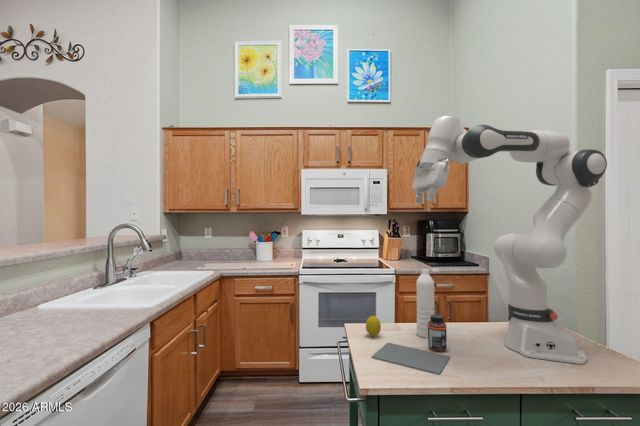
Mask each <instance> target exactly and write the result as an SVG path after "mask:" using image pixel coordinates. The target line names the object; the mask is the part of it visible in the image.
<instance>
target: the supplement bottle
mask: <svg viewBox="0 0 640 426" xmlns="http://www.w3.org/2000/svg"><path fill="white" fill-rule="evenodd" d="M447 338H448V337H447V323H446V322H445V321H444V316H443V315H441V314H437V313H434V314H432V315H431V320H430V321H429V322H428V338H427V343H428V344H427V346H428V347H427V348H428V349H429V350H430V351H431V352H434V353H444V352H445V351H447V349H448V348H447V344H448V342H447Z"/></svg>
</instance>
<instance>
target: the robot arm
mask: <svg viewBox="0 0 640 426" xmlns="http://www.w3.org/2000/svg"><path fill="white" fill-rule="evenodd" d="M426 143H427V144H426V146H425V148H424V149H423V153H422V155H421V157H420V160H418V162H417V163H416V165H415V170H416V171H415V173H414V176H413V180H412V181H413V182H412V185H411V187H412V188H411V189H412V191H414V192H415V199H414V202H415V203H416V204H421V203H422V200H423V198H422V197H423V194H424V193H425V192H428V193H427V194H426V196H425V201H426V202H433V200H434V197H435V196H436V195H437V192H438V191H439V189H441V188H444V187H445V186H447V184H448V183H447V182H448V178H449V174H450V168H451V166H450V165H449V163H450V161H452V162H454V163H456V164H465V163H466V164H467V163H469V162H474V161H475V160H480V159H483V158H488V157H491V156H492V155H495V154H497V153H499V152H507V153H508V152H509V155H510V157H511V158H512V159H513V160H514V161H516V162H521V163H535V164H536V165H535V166H536V167H535V174H536V177H537V180H538V181H539V183H541V184H542V185H546V186H551V187H552V186H556V189H555V191H554V193H552V194H551V196H550V197H549V198H548V199H547V200H546V201H545V202H544V203H543V205H541V207H540V208H539V209H538V210H537V211H536V213H534V215H533V217H532V222H533V225H534V226H533V228H532V230H531V231H529V232H527V233H520V232H519V233H517V232H511V233H507V234H503V235H500V236H499V237H498V238H497V239H496V240H495V242H494V247H493V250H494V252H495V253H494V254H495V255H496V256H497V257H498V258H499V259H500V261H501V263H502V265H503V268H504V271H505V274H506V277H507V282H508V296H509V297H508V301H509V303H508V304H507V320H508V326H507V332H506V337H505V340H504V346H506V347H507V348H509V349H510V350H513V351H515V352H517V353H520V354H521V355H522V356H524V357H527V358H533V359H540V360H545V361H547V360H548V361H553V362H554V361H555V362H560V363H561V362H562V363H570V364H575V365H584V364H586V363H587V362H588V358H587V354H586V353H585V351H584V350H583V349H581V348H579V347H578V343H577V340H576V338H575V336H574V335H573V334H572V333H571V332H570V331H569V330H568V329H566V328H565V326H563V325H561V324H560V323H559V322H557V321H556V320H558V314H557V313H556V312H555V311H554V309H550V308H549V307H548V286H547V284H546V282H545V281H544V280H543V279H542V277H541V276H540V275H539V273H538V270H537V269H554V268H559V267H561V266H562V265H563V264H564V262H565V261H566V259H567V258H566V257H567V255H568V254H567V252H568V251H567V247H566V245H565V243H564V241H565V237H566V235H567V234H568V232H569V231H570V230H571V229H572V227H573V226H575V224H576V223H577V221H578V220H579V219H580V218H581V217H582V216H583V214H584V213H585V211H586V210H587V208H588V206H589V205H590V203H591V201H592V198H593V193H592V191H591V189H590V188H591V187H594V186H596V185H597V184H598V183H599V180H600V179H601V178H602V177H603V176H604V174H605V172H606V169H607V167H608V162H607V158H606V156H605V155H604V153H602V152H601V151H600V150H598V149H597V150H596V149H590V148H589V149H588V148H587V149H581V150H576V151H575V150H574V151H571V150H570V145H571V143H570V139H569V137H568V136H567V135H566V134H565V133H564V132H560V131H555V130H549V129H548V130H546V129H532V130H529V129H528V130H523V131H522V130H521V131H520V130H502V129H498V128H496V127H493V126H491V125H488V124H478V125H476V126H474V127H472V128H470V129H468V130H466V129H465V128H464V127H463V125H462V124H461V122H460V119H459V118H458V117H457V116H455V115H449V114H447V115H442V116H440V117H437V118H436V119H435V120H434V121H433V123H432V125H431V128H430V130H429V133H428V135H427V141H426Z"/></svg>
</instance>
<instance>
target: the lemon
mask: <svg viewBox="0 0 640 426" xmlns="http://www.w3.org/2000/svg"><path fill="white" fill-rule="evenodd" d="M381 325H382V324H381V322H380V319H379V318H378V317H377V316H375V315H374V314H373V315H370V316H368V318H367V319H366V321H365V330H366V332H367V334H369V335H370V336H371V337H373V338H374V337H375V336H377V335H379V333H380V331H381V330H382V329H381V327H382V326H381Z"/></svg>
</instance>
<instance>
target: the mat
mask: <svg viewBox="0 0 640 426" xmlns="http://www.w3.org/2000/svg"><path fill="white" fill-rule="evenodd" d="M371 359H375V360H378V361H379V360H380V361H383V362H387V363H390V364H395V365H398V366H402V367H406V368H410V369H411V368H412V369H415V370H418V371H422V372H427V373H431V374H435V375H439V376H440V375H441V374H442V372H443V371H444V369H445V367H446V366H447V364H448V362H449V360H450V359H451V355H447V354H444V353H443V354H442V353H440V352H435V351H429V350H424V349H419V348H417V347H416V348H414V347H411V346H406V345H402V344H396V343H392V342H386V343H385V344H384V345H383V346H382V347H381V348H380V349H378V350H377V351H376V352H375V353H374V354H372V355H371Z"/></svg>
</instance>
